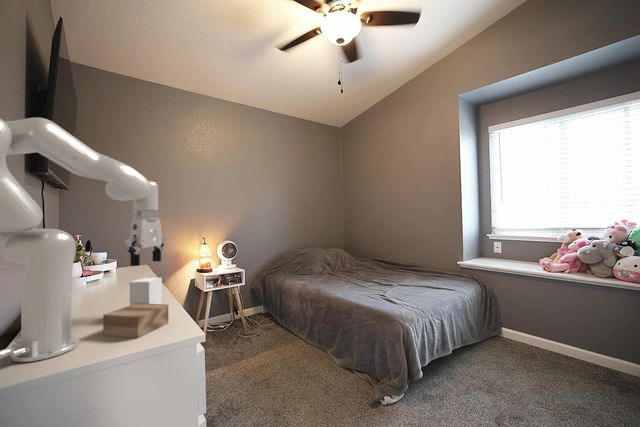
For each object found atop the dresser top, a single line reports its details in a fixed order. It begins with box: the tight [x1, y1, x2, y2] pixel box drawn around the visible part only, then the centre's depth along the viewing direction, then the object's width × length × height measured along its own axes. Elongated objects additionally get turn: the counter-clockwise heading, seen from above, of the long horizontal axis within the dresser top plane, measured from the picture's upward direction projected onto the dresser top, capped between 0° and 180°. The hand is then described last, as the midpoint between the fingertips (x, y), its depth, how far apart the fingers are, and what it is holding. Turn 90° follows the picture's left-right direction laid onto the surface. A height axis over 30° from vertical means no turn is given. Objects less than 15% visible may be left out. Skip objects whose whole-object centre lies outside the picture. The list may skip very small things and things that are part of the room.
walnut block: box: [102, 303, 169, 339], centre depth 89 cm, size 12×12×6 cm
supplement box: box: [129, 277, 163, 306], centre depth 102 cm, size 7×7×13 cm
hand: (146, 263), depth 103 cm, fingers open, 9 cm apart
